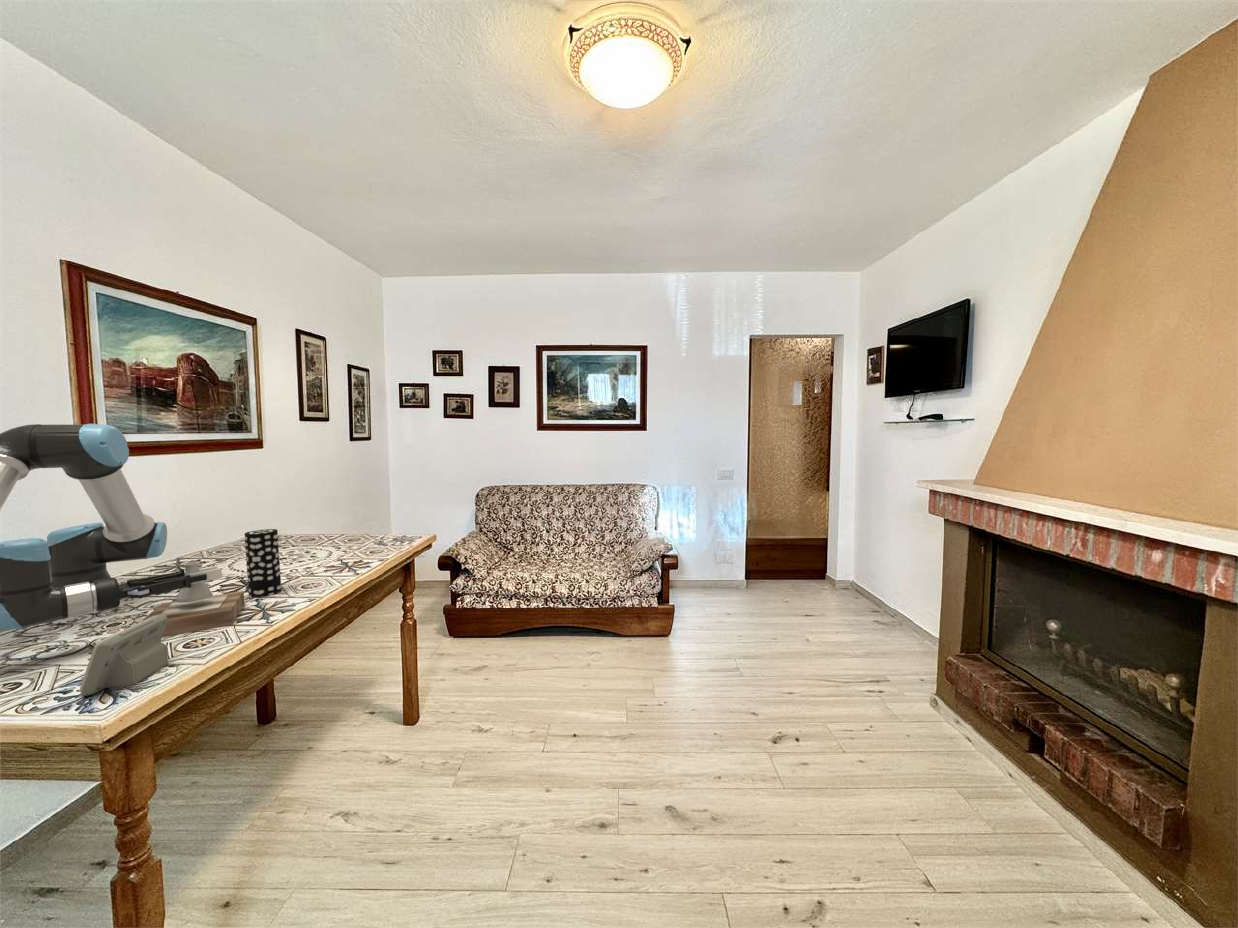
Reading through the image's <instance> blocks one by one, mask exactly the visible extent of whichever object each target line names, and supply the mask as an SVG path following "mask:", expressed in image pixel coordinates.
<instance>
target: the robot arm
mask: <svg viewBox="0 0 1238 928" xmlns="http://www.w3.org/2000/svg"><path fill="white" fill-rule="evenodd" d="M129 456H130V449H129V446H128V441H127V439H126V437H125V435H124V434H123V433H122V431H121V430H120V429H118V428H117V427H115V426H113V425H109V424H97V423H86V424H41V423H40V424H32V423H31V424H25V425H21V426H20V425H19V426H17V427H14V428H10V429H8V430H5V431H3V432H1V433H0V511H1V509H2V507H3V506H4V504H5V503H6V501H7V499H8V497H9V495H10V494H11V492H12V490H13V488H14V487H15V486H16V483H17V482H18V481H21V480H23V479H25V478H26V477H27V476H28V475H29V473H30V471H33V470H36V469H57V468H58V469H60V468H61V469H62V470H63V472H64V473H65V475H66V476H68V477H69V478H72V479H74V480H77V481H79V482H80V484H81V486H82V488H83V490H84V491H85V493H86V495H87V496H88V498H89V500H90V501H91V503H92V505H93V506H94V509H96V511H97V513H98V514H99V516H100V518H101V519H102V521H103V522H92V523H85V524H80V525H75V526H69V527H64V528H60V529H56V530H52V531H51V532H49V533H48V534H47V535H46V539H44V538H41V537H40V538H39V537H36V538H35V537H32V538H19V539H12V540H5V541H0V633H3V632H9V631H13V630H22V629H25V628H30V627H34V626H39V625H43V624H47V623H52V622H55V621H60V620H65V619H66V620H67V619H70V618H73V619H76V620H77V619H79V618H80V616H81V615H83V616H84V615H89V614H92V613H94V611H96V612H103V611H108V610H113V609H117V608H119V607H120V604H121V599H127V598H128V599H129V598H130V599H132V600H133V599H136V598H138V599H143V598H147V597H151V596H154V595H158V594H163V593H168V592H171V591H177V590H180V589H181V588H187V587H188V588H191V584H196V583H201V582H205V583H206V582H209V581H215V580H218V579H223V573H222V568H219V567H218V566H215V565H214V566H211V567H206V568H205V567H204V568H199V570H200V572H198V573H193V574H189V575H187V576H185V568H184V569H180V571H175V572H170V573H169V572H168V573H164V574H163V573H162V574H157V575H152V576H145V577H140V578H132V579H127V580H126V582H125V583H120V584H119V583H118V582H119V581H118V580H117V578H116V577H111V574H110V572H109V571H108V569H107V563H118V562H128V561H137V560H138V561H139V560H147V559H153V558H154V559H155V558H158V557H160V556H162V555H163V554H164V552H165V550H166V546H167V541H168V527H167V523H165V522H162V521H157V522H155V521H154V519H153V518H152V516H150V515H148V514H145V513H144V512H143V511H142V509H141V506H140V505H139V503H138V500H137V498H136V497H135V494H134V493H133V491H132V489H131V486H130V485H129V483H128V481H127V479H126V477H125V475H124V473H123V471H122V469H123V467H124V465H125V464H126V463H127V461H128V460H129ZM103 523H104V524H103ZM104 525H105V526H104Z"/></svg>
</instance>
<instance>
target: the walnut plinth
mask: <svg viewBox="0 0 1238 928" xmlns="http://www.w3.org/2000/svg"><path fill="white" fill-rule="evenodd" d="M244 606H245V592H244V590H242V591H235V592H228V593H222V594H215V595H214V594H213V595H212V596H210V597H208V598H205V599H202V600H198V601H194V602H184V603H179V602H177V601H176V600H174V601H168V602H167V601H166V602H162V603H160V604H159V605H158V606H157V607H155V609H154V610H153V611H151V612H150V613H149V614H148V615H147V616H145V617H144V618H143V619H142V620H141V621H140V622H142V621H144V620H146V619H148V618H151V617H153V616H156V615H160V614H164V615H166V616H167V619H168V620H167V624H166V627H165V629H164V632H163V635H162V638H164V637H170V636H176V635H181V634H186V633H193V632H197V631H203V630H210V629H215V628H219V627H220V628H221V627H226V626H232V625H233V624H234V622H235V621H236V619H237V618H238V615H240V612H241V610H242V609H243V607H244Z"/></svg>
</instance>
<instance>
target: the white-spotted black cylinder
mask: <svg viewBox="0 0 1238 928" xmlns="http://www.w3.org/2000/svg"><path fill="white" fill-rule="evenodd" d="M278 532H279V531H278V528H277V529H276V528H270V529H269V528H268V529H267V528H266V529H257V530H251V531H247V532H245V533H244V545H245V559H246V571H247V573H246V574H247V585H248V586H247V587H248V597H249V598H264V597H269V596H273V595H276V594H279V593H280V592H281V591H282V578H281V576H282V575H281V564H280V562H281V561H280V551H279V549H280V548H279V533H278Z"/></svg>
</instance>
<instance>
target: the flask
mask: <svg viewBox="0 0 1238 928" xmlns="http://www.w3.org/2000/svg"><path fill="white" fill-rule="evenodd" d="M200 564H201V561H190V562H186V563H183V567H184V571H185V576H187V575H189V574H193V573H198V572H200V570H199V569H200ZM210 596H214V594H213V592H212V591H211V589H210V588H209V586H208V585H207V583H206V582H201V583H196V584H191V588H188V587H187V588H181V589H179V592H178V594H177V596H176V598H175V601H177V602H179V603H184V602H194V601H198V600H202V599H205V598H208V597H210Z"/></svg>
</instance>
